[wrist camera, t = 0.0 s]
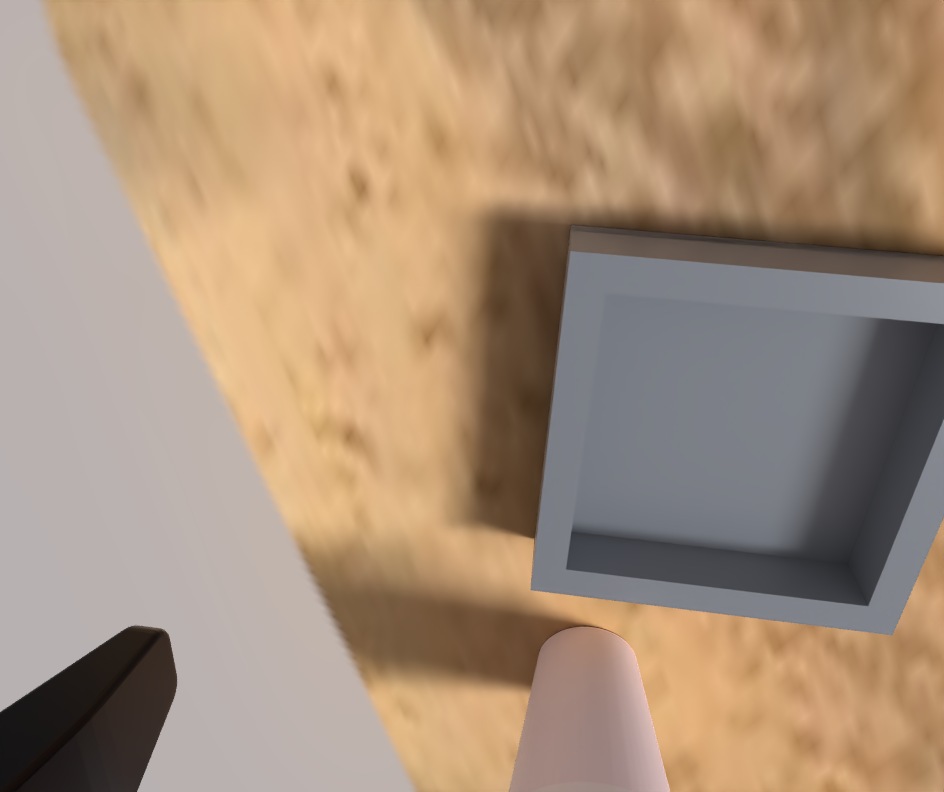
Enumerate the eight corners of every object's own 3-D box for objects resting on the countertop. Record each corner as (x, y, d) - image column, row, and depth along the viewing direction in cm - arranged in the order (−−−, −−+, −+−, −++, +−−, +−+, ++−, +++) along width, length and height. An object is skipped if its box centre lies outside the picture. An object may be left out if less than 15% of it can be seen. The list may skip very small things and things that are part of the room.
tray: (864, 579, 25) (892, 635, 23) (534, 539, 26) (530, 590, 24) (988, 259, 20) (1041, 292, 17) (571, 224, 21) (570, 251, 18)
